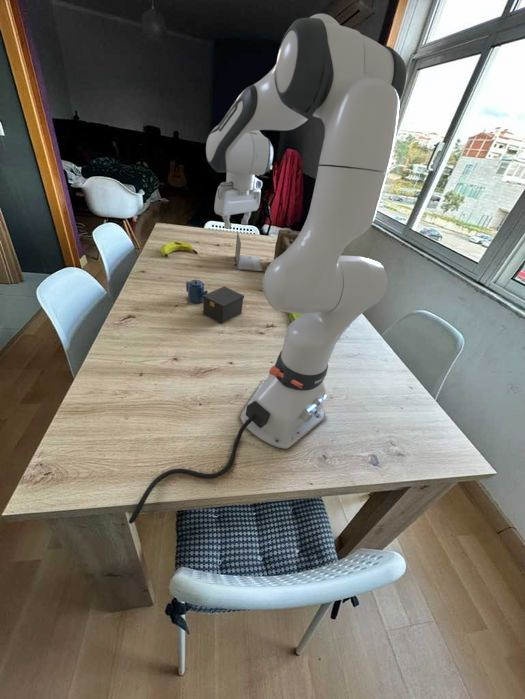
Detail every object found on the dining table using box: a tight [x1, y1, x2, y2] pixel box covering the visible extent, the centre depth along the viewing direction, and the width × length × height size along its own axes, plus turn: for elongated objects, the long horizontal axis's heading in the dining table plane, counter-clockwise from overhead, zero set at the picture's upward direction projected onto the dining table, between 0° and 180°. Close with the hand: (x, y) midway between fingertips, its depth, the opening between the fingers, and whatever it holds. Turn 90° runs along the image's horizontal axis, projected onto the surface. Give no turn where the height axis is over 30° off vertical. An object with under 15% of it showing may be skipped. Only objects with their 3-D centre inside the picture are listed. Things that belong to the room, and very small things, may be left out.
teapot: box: [185, 279, 209, 305], centre depth 110 cm, size 11×6×8 cm, turn 55°
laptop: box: [234, 231, 264, 272], centre depth 146 cm, size 18×12×13 cm
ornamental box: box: [273, 229, 301, 260], centre depth 141 cm, size 35×18×18 cm, turn 7°
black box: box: [202, 286, 245, 324], centre depth 105 cm, size 12×10×7 cm
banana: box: [160, 240, 198, 258], centre depth 146 cm, size 5×17×15 cm
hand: (236, 226), depth 101 cm, fingers open, 8 cm apart
